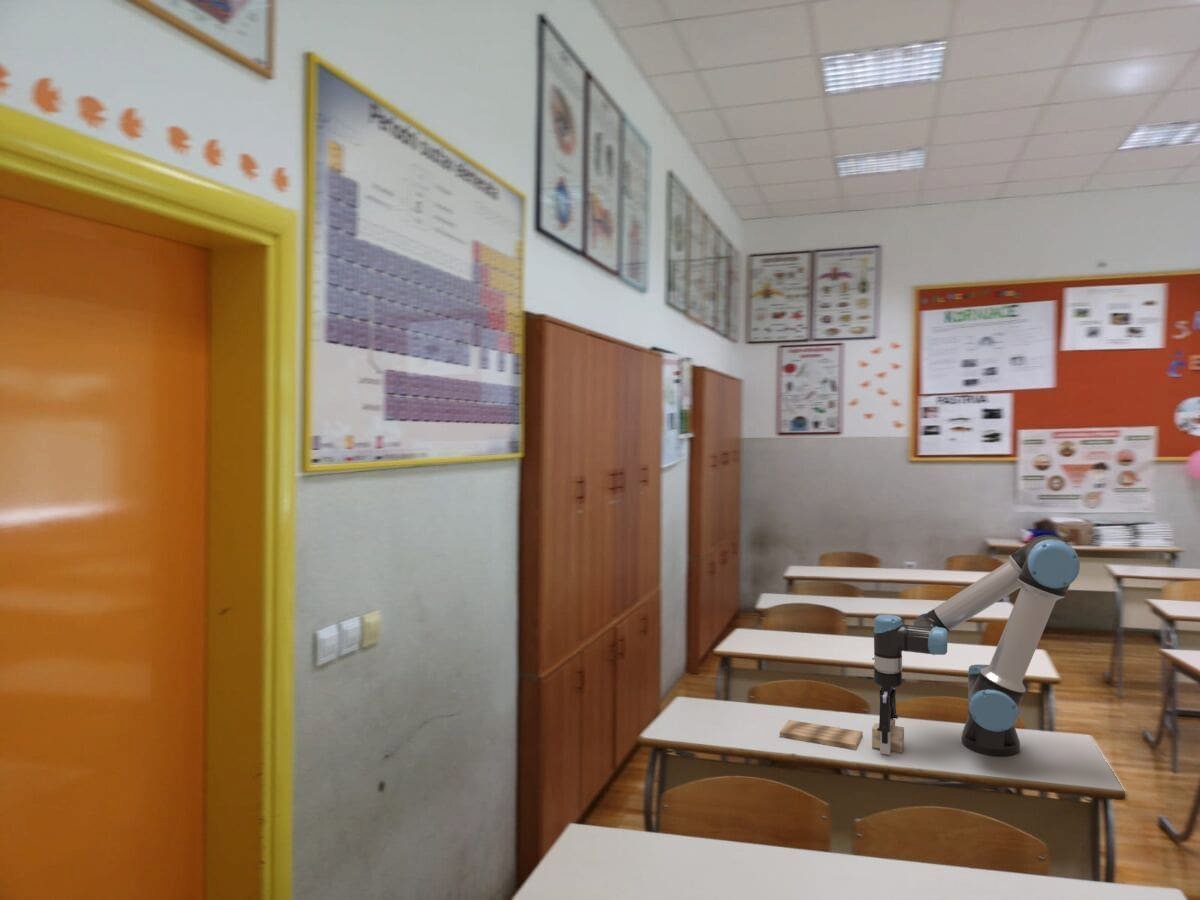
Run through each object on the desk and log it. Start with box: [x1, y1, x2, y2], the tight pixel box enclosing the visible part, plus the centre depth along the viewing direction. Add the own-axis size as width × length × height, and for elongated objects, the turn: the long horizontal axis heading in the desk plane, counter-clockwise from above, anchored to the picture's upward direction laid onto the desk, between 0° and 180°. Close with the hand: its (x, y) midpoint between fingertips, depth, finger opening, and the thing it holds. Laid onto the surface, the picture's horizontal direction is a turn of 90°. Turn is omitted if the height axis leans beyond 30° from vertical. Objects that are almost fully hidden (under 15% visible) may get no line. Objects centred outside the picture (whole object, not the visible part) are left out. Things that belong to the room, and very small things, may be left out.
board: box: [779, 719, 863, 751], centre depth 237 cm, size 22×11×2 cm, turn 62°
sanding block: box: [871, 722, 905, 755], centre depth 228 cm, size 8×5×6 cm, turn 62°
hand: (887, 747), depth 229 cm, fingers open, 9 cm apart
